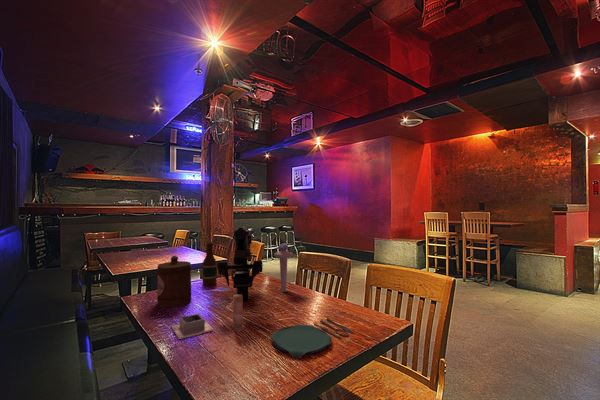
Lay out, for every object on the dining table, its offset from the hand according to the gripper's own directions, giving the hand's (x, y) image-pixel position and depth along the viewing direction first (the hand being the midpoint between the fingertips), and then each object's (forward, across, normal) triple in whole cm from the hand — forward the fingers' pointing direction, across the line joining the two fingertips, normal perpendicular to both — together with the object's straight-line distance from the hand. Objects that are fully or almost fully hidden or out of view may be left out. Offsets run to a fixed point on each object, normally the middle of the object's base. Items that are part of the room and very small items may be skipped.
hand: (239, 284), depth 118 cm
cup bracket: (+15, -17, +4) cm, 23 cm away
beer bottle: (-27, -20, +47) cm, 58 cm away
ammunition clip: (-32, -5, +52) cm, 62 cm away
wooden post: (+17, 0, +2) cm, 17 cm away
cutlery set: (+25, +26, -5) cm, 37 cm away
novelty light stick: (-13, +21, +33) cm, 41 cm away
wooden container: (-7, -32, +27) cm, 42 cm away
